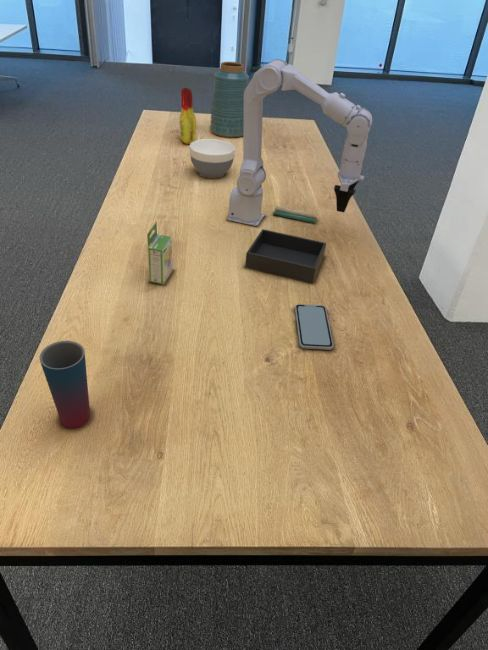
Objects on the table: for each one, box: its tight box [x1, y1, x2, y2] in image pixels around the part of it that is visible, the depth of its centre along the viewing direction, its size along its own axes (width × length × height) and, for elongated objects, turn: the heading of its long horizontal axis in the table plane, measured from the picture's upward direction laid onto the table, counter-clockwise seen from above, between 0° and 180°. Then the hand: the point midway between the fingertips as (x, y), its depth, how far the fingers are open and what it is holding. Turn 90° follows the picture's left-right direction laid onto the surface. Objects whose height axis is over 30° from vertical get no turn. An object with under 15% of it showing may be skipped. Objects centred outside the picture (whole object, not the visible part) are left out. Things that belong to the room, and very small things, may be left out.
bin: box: [244, 228, 327, 284], centre depth 134 cm, size 18×14×4 cm
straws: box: [273, 205, 318, 224], centre depth 155 cm, size 13×3×3 cm, turn 72°
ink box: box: [146, 221, 174, 286], centre depth 121 cm, size 7×4×13 cm, turn 168°
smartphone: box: [294, 303, 334, 351], centre depth 113 cm, size 7×1×15 cm
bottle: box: [179, 87, 197, 145], centre depth 198 cm, size 12×6×20 cm, turn 10°
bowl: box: [188, 138, 236, 179], centre depth 177 cm, size 16×16×10 cm
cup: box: [39, 340, 91, 429], centre depth 84 cm, size 7×7×15 cm
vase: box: [209, 61, 250, 139], centre depth 208 cm, size 16×16×27 cm
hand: (342, 205), depth 142 cm, fingers open, 7 cm apart
